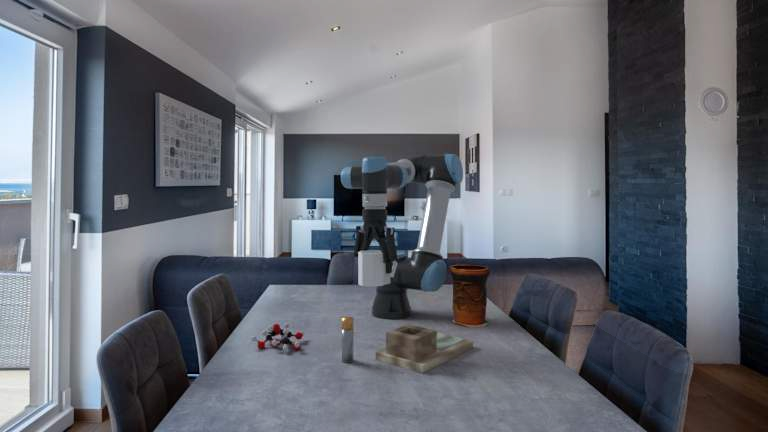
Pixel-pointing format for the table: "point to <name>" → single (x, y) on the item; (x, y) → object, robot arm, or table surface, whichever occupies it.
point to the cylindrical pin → (347, 339)
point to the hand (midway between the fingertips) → (375, 281)
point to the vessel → (469, 294)
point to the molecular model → (284, 335)
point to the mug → (372, 268)
